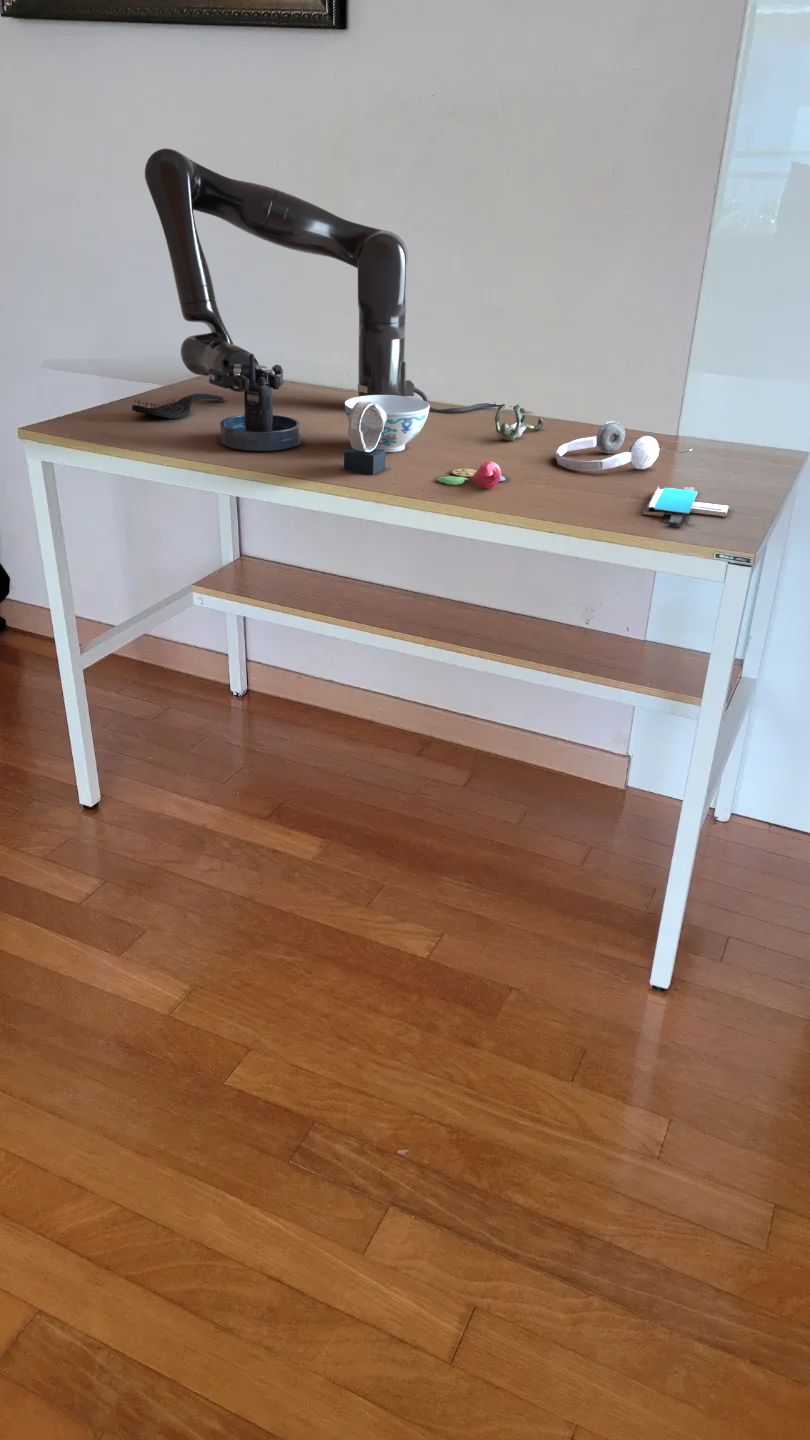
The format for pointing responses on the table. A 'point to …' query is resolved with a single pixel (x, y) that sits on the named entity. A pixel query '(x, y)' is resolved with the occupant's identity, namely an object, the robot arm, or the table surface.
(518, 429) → the zombie figurine
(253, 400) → the two-way radio
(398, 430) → the chinaware
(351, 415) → the watch
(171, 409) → the hairbrush
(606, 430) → the headphones
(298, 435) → the bowl
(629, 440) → the table surface
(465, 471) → the toy pieces
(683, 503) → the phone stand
